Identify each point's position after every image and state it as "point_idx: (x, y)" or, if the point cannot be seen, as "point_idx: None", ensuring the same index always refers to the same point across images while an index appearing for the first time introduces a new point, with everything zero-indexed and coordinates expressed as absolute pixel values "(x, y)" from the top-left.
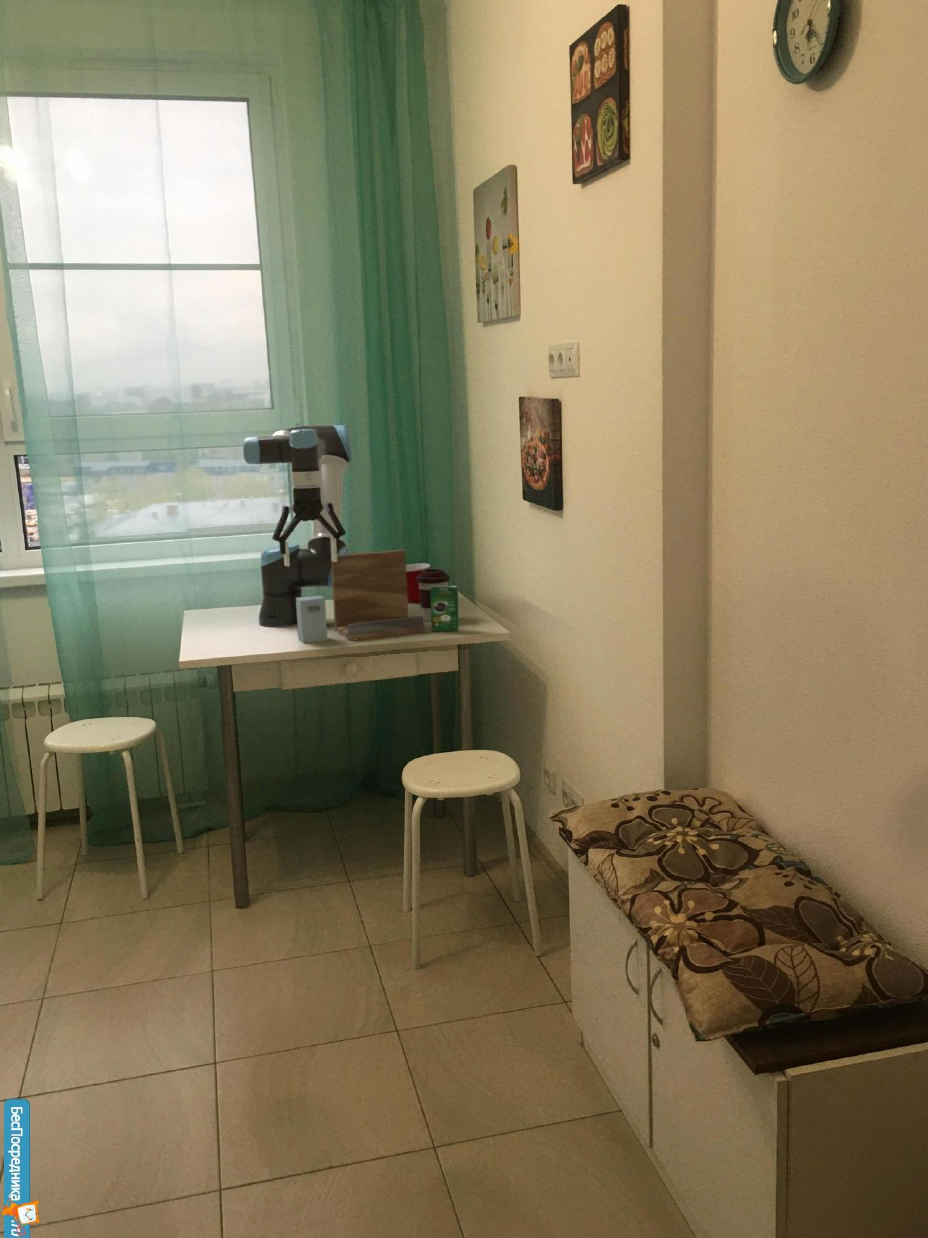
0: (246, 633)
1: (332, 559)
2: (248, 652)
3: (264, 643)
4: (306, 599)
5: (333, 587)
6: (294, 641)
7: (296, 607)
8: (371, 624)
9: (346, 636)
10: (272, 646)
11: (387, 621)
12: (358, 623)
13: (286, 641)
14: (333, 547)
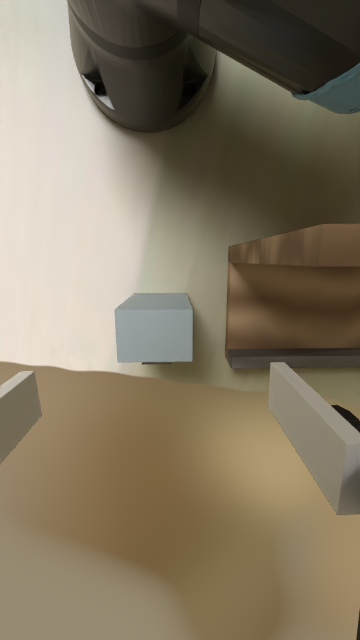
0: (33, 160)
1: (272, 380)
2: (22, 352)
3: (61, 291)
4: (138, 350)
5: (260, 249)
6: None
7: (120, 305)
8: None
9: (226, 332)
10: (73, 326)
11: (318, 366)
12: (254, 363)
13: (108, 296)
14: (301, 452)
